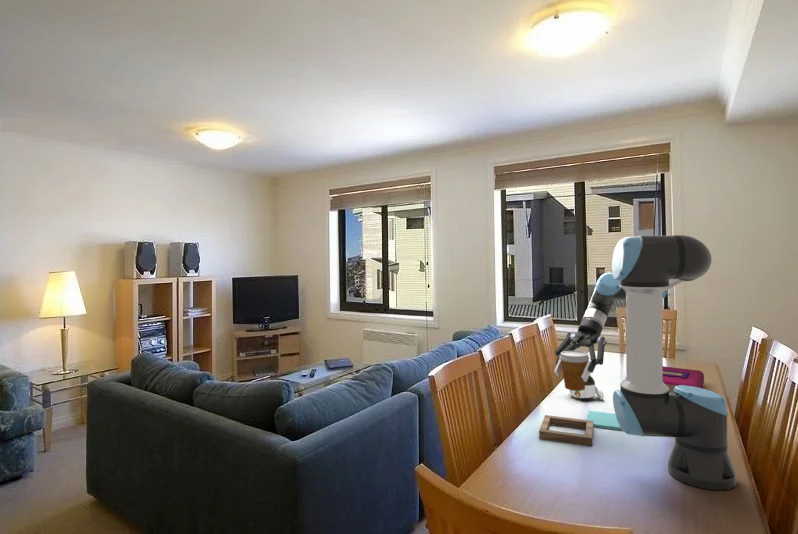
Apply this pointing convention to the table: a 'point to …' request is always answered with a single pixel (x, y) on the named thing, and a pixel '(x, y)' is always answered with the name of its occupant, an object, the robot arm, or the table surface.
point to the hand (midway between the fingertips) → (569, 376)
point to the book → (681, 377)
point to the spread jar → (588, 391)
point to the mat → (604, 420)
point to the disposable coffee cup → (573, 369)
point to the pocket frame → (566, 436)
